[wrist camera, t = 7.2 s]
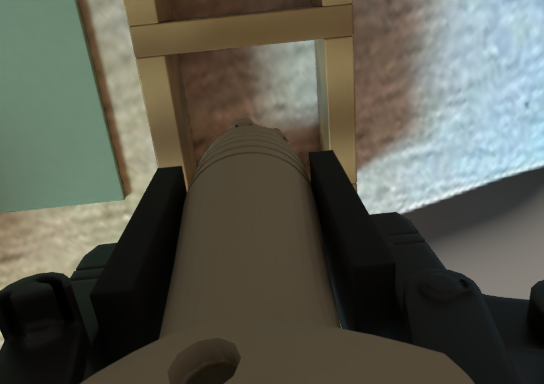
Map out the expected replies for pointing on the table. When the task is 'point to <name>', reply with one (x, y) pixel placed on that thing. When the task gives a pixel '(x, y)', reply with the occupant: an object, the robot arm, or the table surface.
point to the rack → (233, 34)
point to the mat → (51, 111)
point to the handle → (261, 286)
